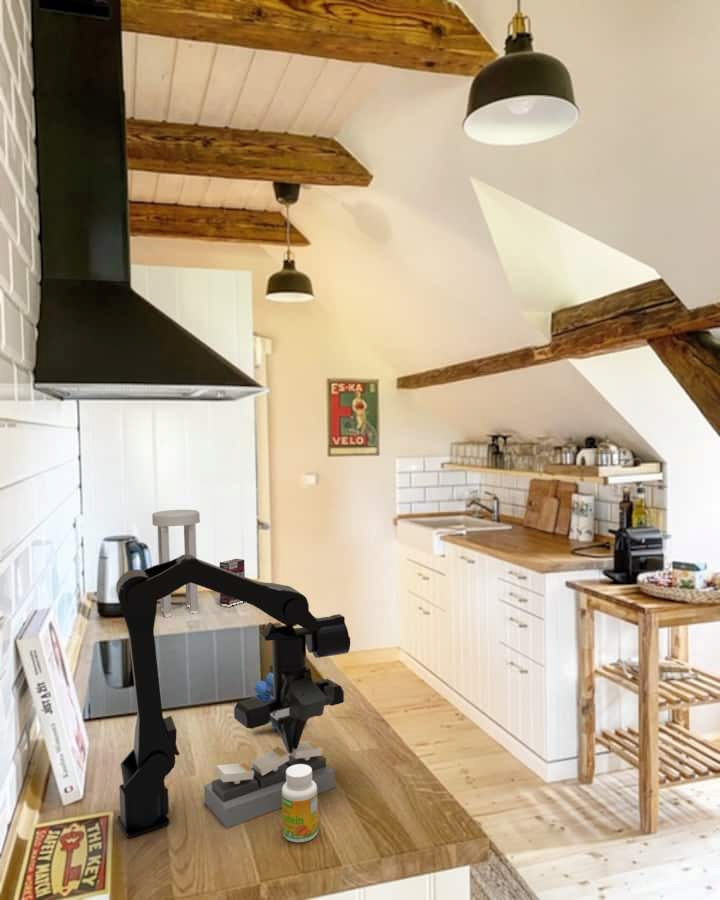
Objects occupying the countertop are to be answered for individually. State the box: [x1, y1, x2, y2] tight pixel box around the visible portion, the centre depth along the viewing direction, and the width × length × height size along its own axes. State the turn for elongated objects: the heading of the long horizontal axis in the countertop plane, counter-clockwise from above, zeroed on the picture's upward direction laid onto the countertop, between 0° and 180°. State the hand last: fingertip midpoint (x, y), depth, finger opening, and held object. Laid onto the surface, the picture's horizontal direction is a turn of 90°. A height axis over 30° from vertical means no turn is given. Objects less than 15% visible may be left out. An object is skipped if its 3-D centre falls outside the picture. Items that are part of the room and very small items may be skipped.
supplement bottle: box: [281, 764, 319, 843], centre depth 104 cm, size 5×5×10 cm
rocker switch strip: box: [203, 754, 337, 829], centre depth 115 cm, size 20×9×4 cm, turn 124°
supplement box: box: [219, 558, 246, 605], centre depth 246 cm, size 9×5×16 cm, turn 147°
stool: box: [151, 509, 201, 615], centre depth 238 cm, size 16×16×35 cm
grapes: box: [252, 672, 278, 731], centre depth 140 cm, size 12×7×12 cm, turn 109°
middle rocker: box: [250, 745, 289, 776], centre depth 115 cm, size 5×4×2 cm
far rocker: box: [284, 740, 323, 760], centre depth 119 cm, size 5×4×2 cm
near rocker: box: [214, 762, 254, 784], centre depth 111 cm, size 5×4×2 cm
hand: (291, 751), depth 117 cm, fingers closed, pressing on far rocker
